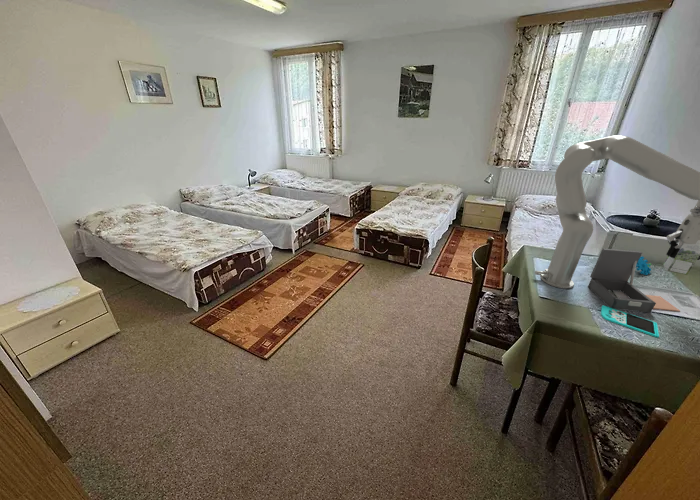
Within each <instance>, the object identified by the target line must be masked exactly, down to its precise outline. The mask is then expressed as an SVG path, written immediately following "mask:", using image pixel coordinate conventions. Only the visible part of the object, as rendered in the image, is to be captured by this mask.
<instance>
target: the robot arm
mask: <svg viewBox="0 0 700 500" xmlns="http://www.w3.org/2000/svg"><path fill="white" fill-rule="evenodd" d="M606 159H608V160H610V161H613V162H615V163H616V164H618V165H620V166H622V167H624V168H626V169H627V170H630V171H632V172H633V173H635V174H636V175H639V176H641V177H643V178H646V179H648V180H650V181H654V182H656V183H658V184H661V185H663V186H664V187H667V188H669V189H670V190H673V191H674V192H675V193H677V194H679V195H681V196H684V197H686V198H688V199H689V200H692V201H697V202H696V203H695V206H694V207H693V208H691V209H690V210H689V212H690V213H688V215H687V216H686V217H685V218H684V219H683V221H682V222H681V223H680V225H679V226H678V228H677V229H676V231H674V232H673V233H670V234H668V235H666V239H667V243H668V244H669V249H668V250H667V251H666V254H665V255H666V256H667V257H668V256H669V257H671V258H675V257H676V255H677V254H678V252H679V250H680V249H679V247H680V246H682V244H683V243H686V244H696V243H697V241H698V240H700V171H698V170H696V169H693V168H692V167H690V166H688V165H685V164H684V163H682V162H680V161H678V160H676V159H674V158H672V157H670V156H668V155H666V154H665V153H662V152H660V151H658V150H656V149H654V148H652V147H650V146H648V145H647V144H645V143H642V142H640V141H638V140H636V139H634V138H633V137H630V136H626V135H620V134H616V135H611V136H607V137H605V136H604V137H602V138H598V139H593V140H587V141H583V142H578V143H574V144H572V145H570V146H569V147H568V148H567V149H566V150H565V152H564V154H563V159H562V161H560V163H559V165H558V167H557V169H556V170H555V174H554V181H555V182H554V183H555V189H556V193H557V194H556V197H555V204H556V209H557V213H558V216H559V217H558V218H559V222H560V225H561V227H562V229H563V230H562V233H561V235H560V237H559V239H558V240H557V244H556V246H555V248H554V252H553V254H552V257H551V259H550V262H549V266H548V268H544V270H535V271H534V275H535V276H539V277H540V279H541V280H542V282H544V283H545V284H547V285H548V286H552V287H555V288H559V289H566V290H567V289H568V290H569V289H571V288H573V287H574V285H575V283H574V281H573V280H572V279H573V276H574V274H575V272H576V269H577V266H578V264H579V262H580V259H581V257H582V254H583V252H584V249H585V247H586V246H587V244H588V242H589V240H590V239H591V237H592V235H593V233H594V225H593V222H592V220H591V219H590V218H589V217H588V215H587V213H586V212H587V211H586V207H587V202H588V201H587V197H586V194H585V190H584V186H583V185H584V184H583V178H582V177H583V172H584V171H585V169H586V168H587V167H589V166H590V165H591V164H592V163H593V162H597V161H601V160H602V161H603V160H606ZM677 242H679V243H678V244H677ZM699 260H700V256H699V258H698V259H697V261H699Z"/></svg>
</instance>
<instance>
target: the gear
mask: <svg viewBox="0 0 700 500" xmlns="http://www.w3.org/2000/svg"><path fill="white" fill-rule="evenodd" d="M648 262H649V261H648V259H645V257H644V256H643V255H641V256H640V258H639V260H638V262H637V264H636V269H635V270H636V271H639V273H640V274H641V275H644V276H648V275H650V274H651V271H652V268H651V266H652V263H651V262H650V263H648Z"/></svg>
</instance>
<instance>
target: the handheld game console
mask: <svg viewBox="0 0 700 500" xmlns="http://www.w3.org/2000/svg"><path fill="white" fill-rule="evenodd" d="M600 316H601V317H602V318H603V319H604V320H606V321H608V322H611V323H614V324H617V325H619V326H622V327H626V328H629V329H631V330H634V331H637V332H639V333H642V332H643V334H645V335H648V336H652V337H654V338H657V339H659V337H660V334H659V328H658V327H659V326H658V322H656V321H653V320H650V319H646V318H644V317H640V316H637V315H634V314H631V313H628V312H625V311H623V310H620V309H613V308H610V307H609V306H608V305H603V304H602V306H601V310H600Z"/></svg>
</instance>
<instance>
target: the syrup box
mask: <svg viewBox="0 0 700 500" xmlns="http://www.w3.org/2000/svg"><path fill="white" fill-rule="evenodd" d="M678 243H679V242H677V244H678ZM679 249H680V250H679V252H678V254H677V255H676V257H675V258H671V257H669V256H668V255H667V257H666V258H665V260H664V262H663V264H662V266H663V267H664V269H665V270H666V271H667V272H669V273H670V272H672V273H676V274H680V275H686V276H688V275H689V274H690V272H691V270H692V269H693V267H694V265H695V264H696V263H697V261H698V260H697V259H698V258H699V256H700V240H698V241H697V243H696V244H686V243H683V244H682V246H680V247H679Z"/></svg>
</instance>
